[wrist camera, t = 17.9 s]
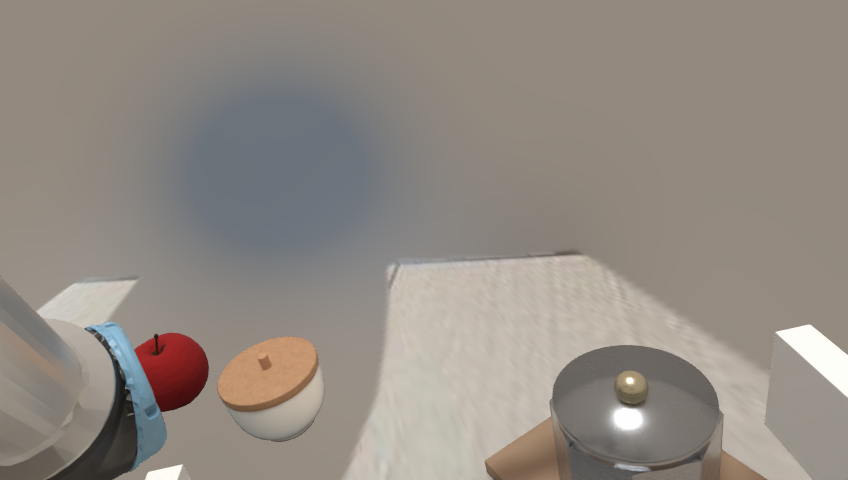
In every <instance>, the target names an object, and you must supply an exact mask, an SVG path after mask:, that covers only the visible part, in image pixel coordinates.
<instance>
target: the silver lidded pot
mask: <svg viewBox="0 0 848 480" xmlns="http://www.w3.org/2000/svg"><path fill="white" fill-rule="evenodd" d="M550 409H551V417H552V424H553V432H554V440H555V447H556V455H557V463H558V471H559V477H560V480H720V465H721V449H722V433H723V417H724V414H723V413H722V412H721V411H720V409H719V403H718V398H717V395H716V392H715V390H714V388H713V386H712V385H711V383H710V382H709V380H708V379H707V378H706V377H705V376H704V375H703V373H702V372H700V371H699V370H698V369H697V368H696V367H694V366H693V365H692V364H690V363H689V362H687V361H685V360H683V359H682V358H680V357H678V356H675V355H673V354H671V353H668V352H665V351H662V350H658V349H654V348H650V347H644V346H633V345H620V346H610V347H604V348H600V349H596V350H593V351H590V352H587V353H585V354H583V355H581V356H579V357H577V358H576V359H574V360H573V361H571V362H570V363H569V364H568V365H567V366H566V367H565V368H564V369H563V370H562V371H561V372H560V374H559V375H558V377H557V379H556V381H555V384H554V388H553V397H552V399H551V400H550Z"/></svg>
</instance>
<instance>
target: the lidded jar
mask: <svg viewBox="0 0 848 480" xmlns="http://www.w3.org/2000/svg"><path fill="white" fill-rule="evenodd" d="M217 390H218V394H219V396H220V398H221V400H222V401H223V403H224V404H225V405H226V407H227V409H228V411H229V413H230V414H231V416H232V418H233V419H234V420H235V422H236V423H237V424H238V425H239V426H240V427H241V428H242V429H243V430H244V431H245V432H247V433H248V434H250V435H252V436H254V437H256V438H259V439H264V440H271V441H276V442H282V441H287V440H291V439H293V438H295V437H298V436H299V435H301V434H302V433H304V432H305V431H306V430H307V429H308V428H309V427H310V426H311V424H312V423H313V421H314V419H315V417H316V415H317V414H318V412H319V410H320V408H321V405H322V402H323V397H324V379H323V374H322V370H321V366H320V363H319V359H318V355H317V352H316V349H315V347H314V346H313V345H312V344H311V343H310V342H309V341H307V340H305V339H302V338H298V337H280V338H274V339H270V340H267V341H264V342H261V343H259V344H257V345H255V346H252V347H251V348H249V349H247V350H245V351H244V352H242V353H241V354H239V355H238V356H237V357H236V358H234V359H233V360H232V361H231V362H230V363H229V364H228V365H227V367H226V368H225V369H224V371H223V372H222V374H221V376H220V378H219V381H218V387H217Z"/></svg>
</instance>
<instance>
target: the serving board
mask: <svg viewBox="0 0 848 480" xmlns="http://www.w3.org/2000/svg"><path fill="white" fill-rule="evenodd" d="M485 465H486V469H487V472H488V474H489V475H490V476H491V477H492V478H493V479H494V480H560V477H559V471H558V463H557V455H556V447H555V440H554V432H553V424H552V417H550V418H548V419H547V420H545V421H544V422H542V423H541V424H539V425H538V426H536V427H535V428H533V429H532V430H530V431H529V432H527V433H526V434H524V435H523V436H521V437H520V438H518V439H517V440H515V441H514V442H512V443H511V444H509V445H508V446H506V447H505V448H503V449H502V450H500V451H499V452H497V453H496V454H494V455H493V456H491V457H490V458H488V459H487V460H485ZM720 480H767V479H766V478H764V477H763V476H761V475H760V474H758V473H757V472H755V471H753V470H752V469H750V468H749V467H747V466H746V465H744V464H743V463H741V462H740V461H738V460H737V459H735V458H734V457H732V456H731V455H729V454H728V453H726V452H725V451H723V450H722V449H721V465H720Z"/></svg>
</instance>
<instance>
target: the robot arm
mask: <svg viewBox="0 0 848 480" xmlns="http://www.w3.org/2000/svg"><path fill="white" fill-rule="evenodd" d="M764 424H765V425H766V426H767V427H768V428H769V429H770V431H771V432H772V433H773V434H774V435H775V436H776V438H777V439H778V440H779V441H780V442H781V443H782V444H783V446H784V447H785V448H786V449H787V450H788V451H789V453H790V454H791V455H792V456H793V457H794V458H795V459H796V461H797V462H798V463H799V464H800V465H801V466H802V468H803V469H804V470H805V471H806V472H807V473H808V474H809V476H810V477H811V478H812V479H813V480H848V355H847V354H845V353H844V352H843V351H842V350H841V349H839V348H838V347H837V346H836V345H834V344H833V343H832V342H831V341H829V340H828V339H827V338H826V337H825V336H823V335H822V334H821V333H820V332H818V331H817V330H816V329H815V328H814V327H812V326H811V325H805V326H801V327H796V328H792V329H787V330H783V331H778V332H775V338H774V347H773V355H772V364H771V372H770V381H769V389H768V397H767V406H766V414H765V423H764ZM166 437H167V431H166V426H165V422H164V419H163V417H162V414H161V411H160V409H159V407H158V405H157V403H156V399H155V397H154V394H153V391H152V388H151V386H150V384H149V381H148V379H147V377H146V374H145V372H144V370H143V368H142V366H141V364H140V361H139V359H138V357H137V355H136V353H135V351H134V349H133V347H132V345H131V343H130V341H129V339H128V337H127V336H126V334H125V332H124V331H123V330H122V329H121V327H120V326H119V325H118V324H117V323H114V322H105V323H102V324H100V325H90V326H89V327H87V328H85V329H83V328H81V327H79V326H76V325H74V324H71V323H68V322H65V321H60V320H55V319H44V318H42V317H41V316H40V315H39V314H38V313H37V312H36V311H35V310H34V309H33V308H32V307H31V306H30V305H29V304H28V303H27V302H26V301H25V300H24V299H23V298H22V297H21V296H20V295H19V294H18V293H17V292H16V291H15V290H14V289H13V288H12V287H11V286H10V285H9V284H8V283H7V282H6V281H5V280H4V278H2V276H0V480H112V479H114V478H116V477H118V476H120V475H122V474H123V473H127V472H131V471H133V470H134V469H136V468H137V467H138V466H139V464H140V463H142V462H143V461H145V460H146V459H148V458H149V457H151V456H152V455H154V454H156V453H157V452H158V451H159V450H160V449H161V448H162V447H163V445H164V443H165V441H166ZM145 480H191V478H190V476H189V474H188V473H187V471H186V469H185V468H184V466H183V465H178V466H173V467H169V468H165V469H160V470H155V471H151V472H148V474H147V477H146V479H145Z"/></svg>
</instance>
